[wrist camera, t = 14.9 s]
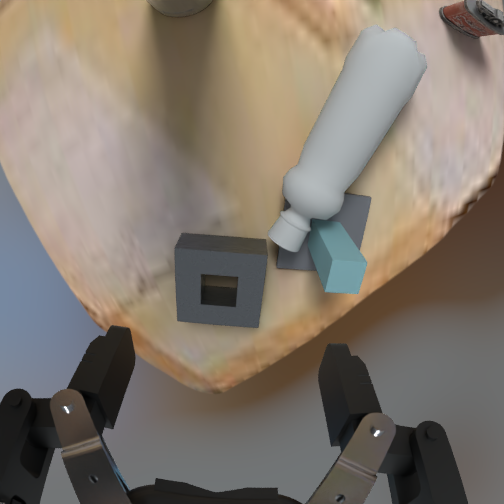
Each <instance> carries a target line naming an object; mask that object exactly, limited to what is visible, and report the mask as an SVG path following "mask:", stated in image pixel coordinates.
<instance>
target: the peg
mask: <svg viewBox="0 0 504 504" xmlns="http://www.w3.org/2000/svg"><path fill="white" fill-rule="evenodd" d="M308 248H309V250H310V253H311V256H312V258H313V261H314V264H315V266H316V269H317V272H318V275H319V277H320V280H321V283H322V285H323V288H324V291H325V292H332V293H349V294H358V293H359V290H360V286H361V283H362V280H363V276H364V273H365V270H366V266H367V261H366V260H365V258H364V257H363V255H362V254H361V252H360V251H359V249H358V248H357V246H356V245H355V243H354V242H353V240H352V239H351V238H350V236H349V235H348V233H347V232H346V230H345V229H344V227H343V226H342V225H341V223H340V222H334V221H325V220H316V219H312V224H311V231H310V235H309V241H308Z"/></svg>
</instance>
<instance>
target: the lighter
mask: <svg viewBox="0 0 504 504" xmlns="http://www.w3.org/2000/svg"><path fill="white" fill-rule="evenodd" d="M439 14H440V17H441V18H442V19H443V20H444V21H445V22H446V23H448V24H449V25H450V26H452V27H453V28H455V29H456V30H458V31H459V32H461V33H463V34H465V35H467V36H469V37H472V38H479V37H480V36H487V35H495V34H500V35H504V16H503V12H502V11H500V10H498V9H494V8H493V7H491V6H490V5H489V4H487V3H486V2H484V1H483V0H478V1H477V0H464V1H462V2H459V3H456V4H453V5H450V6H444V7H441V8H440V10H439Z"/></svg>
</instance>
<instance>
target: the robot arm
mask: <svg viewBox="0 0 504 504" xmlns="http://www.w3.org/2000/svg"><path fill="white" fill-rule="evenodd" d="M146 1H147V2H149V3H150V4H151V5H152V6H153V7H154V8H155V9H156V10H158V11H159V12H160V13H162V14H164V15H167V16H171V17H184V16H189V15H192V14H195V13H197V12H199V11H201V10H203V9H204V8H206V7H207V6H208V5H209V4H210V3H211V2H212V1H213V0H146ZM134 366H135V351H134V346H133V341H132V336H131V331H130V328H127V327H121V326H114V325H112V326H111V327H110V328H109V330H108V332H107V334H106V336H98V337H97V338H96V339H95V340H93V341H92V342H91V343H90V345H89V347H88V349H87V350H86V354H84V356H83V358H82V361H81V362H80V364H79V366H78V368H77V370H76V372H75V373H74V375H73V377H72V379H71V382H70V383H69V385H68V387H67V389H64V390H60V391H58V392H57V393H56V394H54V395H53V397H52V398H43V399H42V398H31V396H30V394H29V393H28V392H27V391H25V390H23V389H14V390H11V391H9V392H8V393H7V394H6V395H5V396H4V397H3V399H2V401H1V403H0V504H40V499H41V496H42V492H43V488H44V484H45V481H46V477H47V474H48V470H49V466H50V463H51V460H52V457H53V453H54V450H55V448H62V449H63V451H62V452H61V456H62V459H63V462H64V465H65V468H66V470H67V473H68V475H69V478H70V480H71V483H72V485H73V488H74V490H75V493H76V495H77V497H78V499H79V502H80V504H302V503H300V502H298V501H297V500H294V499H292V498H290V497H287V496H284V495H279V494H278V490H277V489H278V488H243V489H237V490H231V491H224V492H212V491H209V490H205V489H202V488H199V487H196V486H193V485H190V484H188V483H183V482H177V481H169V480H164V479H158V478H156V481H155V485H146V486H141V487H137V488H135V489H132V490H130V489H129V487H128V485H127V483H126V481H125V480H124V478H123V476H122V475H121V473H120V471H119V469H118V467H117V465H116V463H115V461H114V459H113V457H112V456H111V453H110V451H109V449H108V447H107V445H106V443H105V441H104V438H103V437H102V433H103V430H104V427H105V428H110V429H113V428H114V425H115V422H116V419H117V416H118V413H119V410H120V407H121V404H122V401H123V398H124V395H125V392H126V389H127V386H128V384H129V381H130V378H131V375H132V372H133V369H134ZM318 381H319V387H320V391H321V396H322V402H323V407H324V412H325V417H326V422H327V427H328V432H329V437H330V443H331V447H332V446H340V448H341V453H340V455H339V456H338V458H337V460H336V461H335V463H334V464H333V465H332V467H331V468H330V470H329V471H328V473H327V474H326V476H325V477H324V479H323V480H322V482H321V483H320V484H319V486H318V487H317V488H316V490H315V491H314V492H313V494H312V495H311V497H310V498H309V499H308V500H307V502H306V503H305V504H364V502H365V500H366V498H367V497H368V494H369V493H370V491H371V489H372V487H373V486H374V484H375V482H376V479H377V476H376V474H377V472H378V473H386V474H387V476H388V482H389V487H390V492H391V498H392V504H468V501H467V498H466V494H465V491H464V487H463V484H462V480H461V477H460V474H459V471H458V467H457V465H456V461H455V458H454V455H453V452H452V449H451V446H450V444H449V441H448V438H447V435H446V432H445V430H444V429H443V427H442V426H441V425H440V424H438V423H436V422H433V421H424V422H422V423H420V424H419V425H418V426H417V428H412V427H405V426H399V425H396V424H394V422H393V420H392V419H391V418H390V417H388V416H387V415H385V414H383V413H382V410H381V407H380V405H379V402H378V399H377V396H376V393H375V390H374V387H373V384H371V383H372V382H371V379H370V376H369V373H368V370H367V368H366V365H365V364H364V362H363V361H362V360H361V359H360V358H359V357H358V356H351V354H350V351H349V348H348V346H347V344H328V345H327V347H326V350H325V353H324V356H323V359H322V362H321V365H320V368H319V374H318Z"/></svg>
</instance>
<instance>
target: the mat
mask: <svg viewBox="0 0 504 504" xmlns="http://www.w3.org/2000/svg"><path fill="white" fill-rule="evenodd" d="M370 203H371V197H369V196H363V195H355V194H348V193H344V201H343V204H342V207H341V209H340V211H339V212H338V213H336V214H335V215H333V216H332V217H330V218H329V219H327V220H325V221H334V222H340V223H341V225H342V226H343V227H344V229H345V230H346V232H347V233H348V235H349V236H350V238H351V239H352V240H353V242H354V243H355V245H356V246H357V248H358V249H359V251H360V247H361V243H362V239H363V235H364V230H365V226H366V222H367V217H368V213H369V208H370ZM289 208H291V204H290V203H289V202H288V201H287V199H286V198H285V206H284V211H286V210H288V209H289ZM312 219H316V220H323V219H317V218H311V219H310V227H311V224H312ZM309 235H310V231H309V232H308V233H307V235H306V237H305V239H304V241H303V243H302V245H301V247H300V250H299V251H298V252H292V251H289V250H286V249H284V248H282V247H281V246H279V250H278V257H277V264H276V266H277V268H286V269H300V270H314V271H317V269H316V266H315V264H314V261H313V258H312V256H311V253H310V250H309V248H308V241H309Z"/></svg>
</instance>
